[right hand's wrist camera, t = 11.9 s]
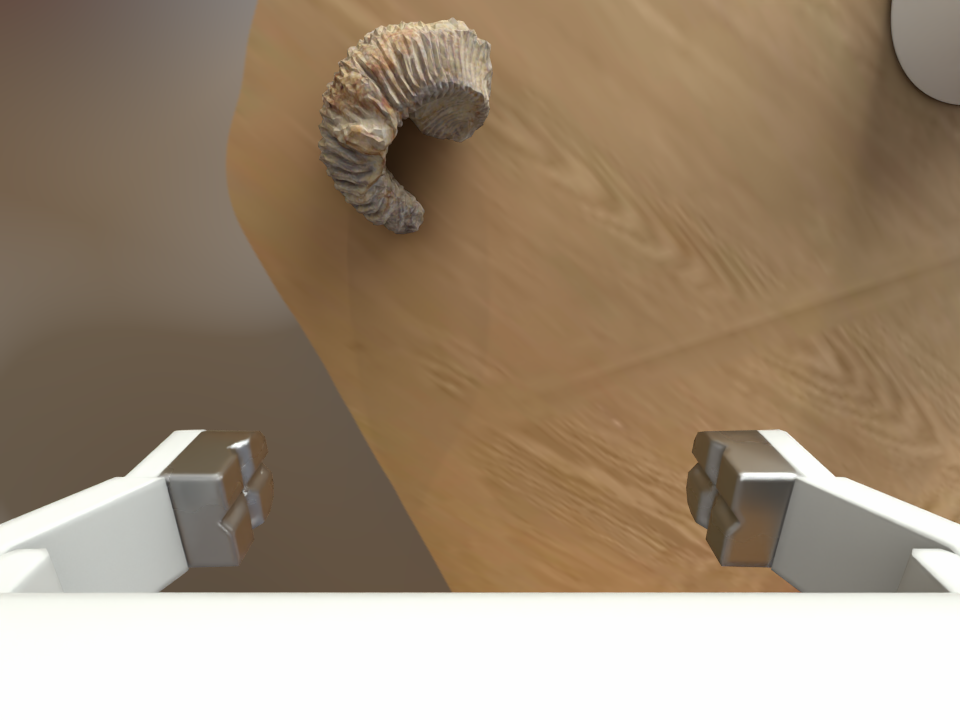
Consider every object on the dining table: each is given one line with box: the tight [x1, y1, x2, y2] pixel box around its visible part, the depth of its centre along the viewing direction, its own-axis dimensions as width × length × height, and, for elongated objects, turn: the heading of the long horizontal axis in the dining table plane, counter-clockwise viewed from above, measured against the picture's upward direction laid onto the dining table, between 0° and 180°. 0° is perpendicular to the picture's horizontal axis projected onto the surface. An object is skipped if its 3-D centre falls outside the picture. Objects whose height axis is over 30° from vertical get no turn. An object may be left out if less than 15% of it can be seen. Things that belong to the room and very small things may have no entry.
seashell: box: [318, 18, 492, 234], centre depth 35 cm, size 14×10×10 cm
